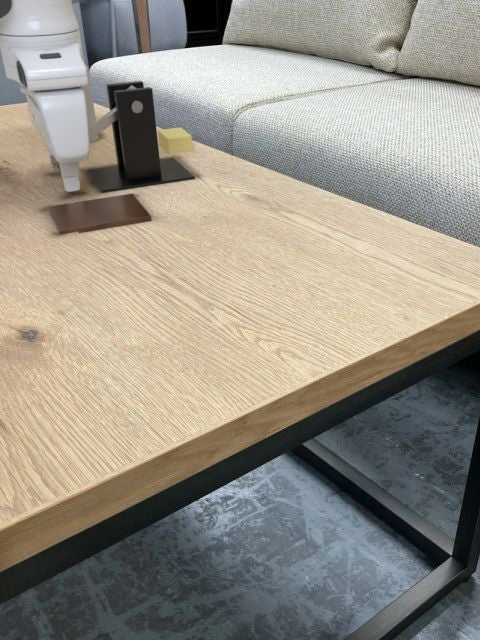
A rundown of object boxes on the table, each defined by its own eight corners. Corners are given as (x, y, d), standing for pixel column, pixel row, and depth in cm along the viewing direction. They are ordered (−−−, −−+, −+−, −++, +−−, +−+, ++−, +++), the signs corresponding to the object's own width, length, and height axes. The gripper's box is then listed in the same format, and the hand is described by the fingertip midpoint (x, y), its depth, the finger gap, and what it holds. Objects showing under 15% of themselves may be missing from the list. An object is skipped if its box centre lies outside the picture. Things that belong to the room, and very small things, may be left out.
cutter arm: (67, 174, 85) (49, 152, 83) (62, 166, 88) (44, 146, 86) (151, 108, 86) (135, 86, 83) (144, 103, 88) (128, 81, 86)
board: (61, 244, 75) (58, 230, 74) (49, 219, 81) (46, 206, 80) (152, 228, 78) (150, 215, 77) (133, 205, 84) (132, 193, 83)
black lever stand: (102, 200, 86) (86, 99, 79) (87, 178, 93) (71, 84, 86) (195, 185, 90) (188, 88, 83) (174, 166, 97) (165, 75, 90)
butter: (169, 160, 99) (167, 138, 97) (159, 150, 103) (157, 130, 101) (193, 156, 100) (191, 135, 99) (182, 147, 104) (180, 127, 102)
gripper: (3, 47, 86) (27, 159, 94) (27, 77, 71) (53, 209, 78) (56, 43, 88) (74, 153, 96) (90, 71, 73) (109, 200, 81)
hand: (65, 178), depth 87 cm, fingers open, 7 cm apart
